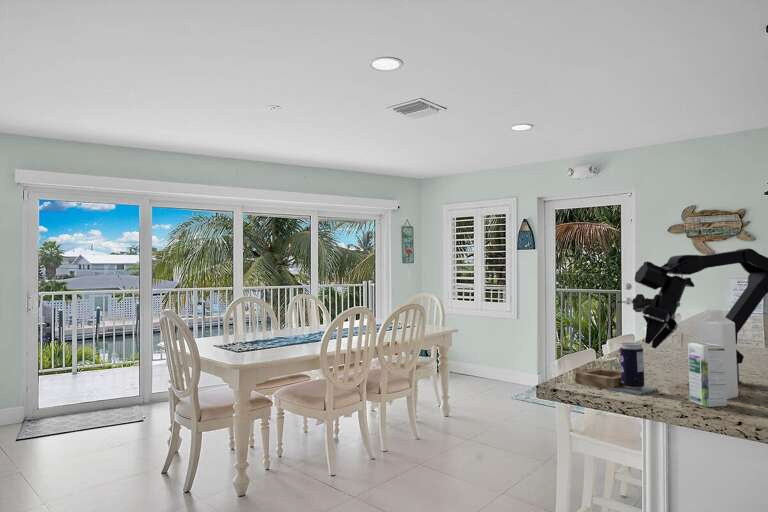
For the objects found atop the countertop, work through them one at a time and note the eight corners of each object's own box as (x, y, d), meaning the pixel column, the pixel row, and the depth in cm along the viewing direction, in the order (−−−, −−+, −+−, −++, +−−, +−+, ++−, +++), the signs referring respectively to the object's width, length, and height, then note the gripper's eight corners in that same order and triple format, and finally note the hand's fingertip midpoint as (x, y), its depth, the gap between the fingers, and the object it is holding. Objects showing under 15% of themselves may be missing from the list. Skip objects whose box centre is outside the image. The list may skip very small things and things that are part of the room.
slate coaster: (657, 390, 136) (657, 388, 136) (639, 395, 131) (639, 393, 131) (625, 385, 144) (625, 383, 144) (607, 389, 139) (607, 387, 139)
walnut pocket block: (637, 384, 144) (637, 373, 145) (613, 390, 138) (613, 379, 138) (599, 377, 154) (599, 368, 154) (575, 382, 148) (575, 372, 148)
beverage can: (635, 385, 141) (633, 342, 141) (649, 389, 135) (647, 344, 136) (617, 386, 140) (615, 342, 140) (630, 390, 134) (628, 345, 135)
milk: (738, 396, 128) (735, 310, 129) (725, 400, 125) (722, 311, 126) (713, 392, 134) (710, 309, 135) (700, 395, 131) (697, 310, 132)
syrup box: (688, 401, 124) (686, 342, 125) (711, 400, 125) (708, 342, 125) (705, 407, 119) (702, 345, 119) (728, 406, 119) (725, 345, 120)
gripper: (647, 294, 158) (629, 340, 158) (633, 279, 144) (614, 330, 144) (686, 305, 151) (667, 354, 150) (676, 292, 137) (655, 345, 136)
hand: (650, 345), depth 145 cm, fingers open, 9 cm apart
